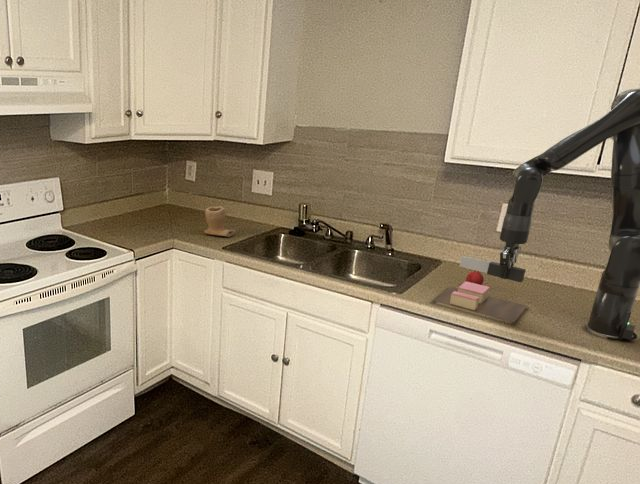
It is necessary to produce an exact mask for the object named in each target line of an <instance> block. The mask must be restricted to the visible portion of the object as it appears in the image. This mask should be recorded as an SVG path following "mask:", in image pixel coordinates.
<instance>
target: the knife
mask: <svg viewBox="0 0 640 484" xmlns="http://www.w3.org/2000/svg"><path fill="white" fill-rule="evenodd" d="M459 267H460V268H465V269H468V270H471V271H472V270H473V271H475V270H476V271H479V272H480V273H485V274H487V275H489V276H493V277H497V278H500V273H501V268H502V267H500V262H495V261H487V260H483V259H478V258H474V257H469V256H465V255H461V258H460V262H459ZM526 270H527V269H526V268H521V267H517V266H511V268H510V270H509V275H508V278H507V279H506V280H510V281H514V282H518V283H522V282H523V281H524V279H525V276H526V275H525V274H526Z"/></svg>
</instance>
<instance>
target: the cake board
mask: <svg viewBox="0 0 640 484" xmlns="http://www.w3.org/2000/svg"><path fill="white" fill-rule="evenodd" d="M454 291H456V292H458V287H453V286H449V288H447V289H446V290H444V291H443V292H442V293H441V294H440V295H439V296H437V297H435V299H433V300H432V301H433V302H435V303H438V304H443V305H446V306H451V307H454V308H457V309H462V310H465V311H469V312H473V313H476V314H480V315H484V316H488V317H491V318H494V319H498V320H501V321H506V322H509V323H513V324H514V323H515V322H516V321H517V319H519V317H520V316H521V315H522V313H523V312H524V310H525V309H527V307H528V305H527V304H522V303H519V302H514V301H511V300H506V299H502V298H497V297H495V296H490V295H488V297H487V298H486V299H485V300H484V301H483V302H482V303H481V304H480V303H478V306H477V308H476V309H475V310H472V309H468V308H464V307H461V306H457V305H453V304H450V299H451V294H452V293H453V292H454Z"/></svg>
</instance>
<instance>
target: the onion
mask: <svg viewBox="0 0 640 484" xmlns="http://www.w3.org/2000/svg"><path fill="white" fill-rule="evenodd" d="M465 282H471V283H475V284H479V285H483V284H484V276H483V275H482V272H480V271H476V270H473V271H471V272H469V273H467V275H466V278H465Z"/></svg>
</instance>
